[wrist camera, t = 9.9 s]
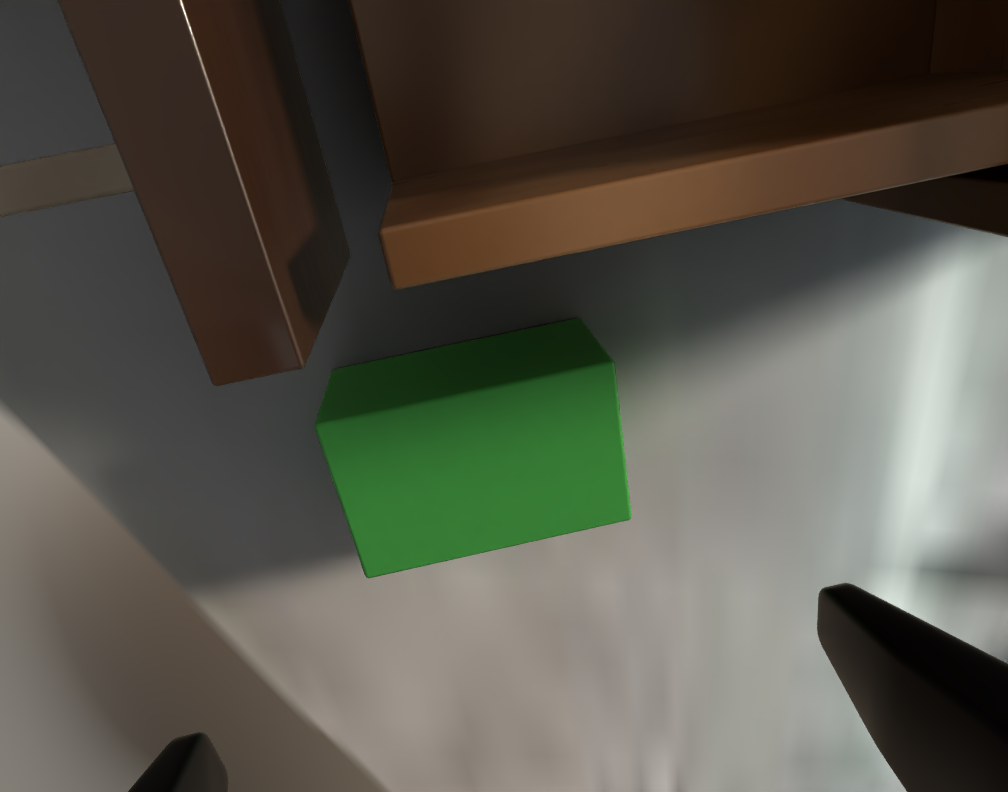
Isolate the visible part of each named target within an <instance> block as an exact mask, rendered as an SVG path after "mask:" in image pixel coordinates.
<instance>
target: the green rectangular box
mask: <svg viewBox="0 0 1008 792" xmlns="http://www.w3.org/2000/svg"><path fill="white" fill-rule="evenodd" d="M315 430H316V433H317V436H318V439H319V442H320V445H321V448H322V451H323V454H324V457H325V460H326V462H327V465H328V468H329V471H330V474H331V477H332V480H333V483H334V486H335V489H336V492H337V495H338V498H339V501H340V503H341V506H342V509H343V512H344V515H345V518H346V521H347V524H348V527H349V530H350V533H351V536H352V539H353V542H354V544H355V547H356V550H357V553H358V556H359V559H360V562H361V565H362V568H363V571H364V574H365V576H366V577H367V578H372V577H376V576H381V575H385V574H390V573H394V572H399V571H403V570H408V569H412V568H417V567H421V566H425V565H430V564H434V563H439V562H443V561H448V560H452V559H457V558H461V557H466V556H470V555H474V554H479V553H483V552H488V551H492V550H497V549H501V548H506V547H510V546H515V545H519V544H524V543H528V542H532V541H537V540H541V539H546V538H550V537H555V536H559V535H564V534H568V533H573V532H577V531H581V530H586V529H590V528H595V527H599V526H604V525H608V524H613V523H617V522H622V521H626V520H629V519H631V507H630V498H629V489H628V480H627V471H626V462H625V453H624V444H623V435H622V426H621V417H620V408H619V399H618V390H617V381H616V372H615V363H614V362H613V360H612V359H611V358H610V356H609V355H608V354H607V352H606V351H605V350H604V348H603V347H602V346H601V345H600V343H599V342H598V341H597V339H596V338H595V337H594V336H593V334H592V333H591V332H590V330H589V329H588V328H587V326H586V325H585V324H584V323H583V321H582V320H581V319H580V318H576V319H571V320H566V321H562V322H557V323H552V324H547V325H543V326H538V327H533V328H528V329H524V330H519V331H514V332H509V333H505V334H500V335H495V336H490V337H486V338H481V339H476V340H471V341H467V342H462V343H457V344H452V345H448V346H443V347H438V348H433V349H429V350H424V351H419V352H414V353H410V354H405V355H400V356H395V357H391V358H386V359H381V360H376V361H372V362H367V363H362V364H357V365H353V366H348V367H343V368H338V369H334V370H332V371H331V374H330V377H329V381H328V384H327V387H326V390H325V393H324V397H323V400H322V403H321V406H320V410H319V413H318V416H317V419H316V423H315Z"/></svg>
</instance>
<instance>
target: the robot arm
mask: <svg viewBox="0 0 1008 792" xmlns="http://www.w3.org/2000/svg"><path fill="white" fill-rule="evenodd" d="M817 632H818V637H819V640H820V642H821V645H822V647H823V649H824V651H825V653H826V654H827V656H828V658H829V660H830V662H831V664H832V665H833V667H834V669H835V671H836V673H837V675H838V676H839V678H840V680H841V682H842V684H843V686H844V687H845V689H846V691H847V693H848V695H849V697H850V698H851V700H852V702H853V704H854V706H855V708H856V710H857V711H858V713H859V715H860V717H861V719H862V721H863V722H864V724H865V726H866V728H867V730H868V731H869V733H870V735H871V737H872V738H873V740H874V742H875V744H876V745H877V747H878V749H879V750H880V752H881V753H882V755H883V756H884V758H885V759H886V761H887V763H888V764H889V766H890V767H891V769H892V770H893V771H894V773H895V774H896V776H897V777H898V779H899V780H900V782H901V783H902V785H903V786H904V788H905V789H906V791H907V792H1008V664H1007V663H1005V662H1003V661H1001V660H999V659H997V658H995V657H993V656H991V655H989V654H987V653H985V652H983V651H981V650H979V649H978V648H976V647H974V646H972V645H970V644H968V643H966V642H964V641H962V640H960V639H958V638H956V637H954V636H952V635H950V634H948V633H946V632H944V631H943V630H941V629H939V628H937V627H935V626H933V625H931V624H929V623H927V622H925V621H923V620H921V619H919V618H917V617H915V616H913V615H911V614H909V613H907V612H906V611H904V610H902V609H900V608H898V607H896V606H894V605H892V604H890V603H888V602H886V601H884V600H882V599H880V598H878V597H876V596H874V595H872V594H871V593H869V592H867V591H865V590H863V589H861V588H859V587H857V586H855V585H853V584H849V583H842V584H838V585H833V586H829V587H825V588H823V589H821V591H820V593H819V597H818V620H817ZM227 791H228V775H227V770H226V768H225V765H224V764H223V762H222V760H221V758H220V756H219V755H218V753H217V751H216V749H215V747H214V746H213V744H212V742H211V740H210V738H209V737H208V735H206V734H205V733H203V732H198V733H194V734H190V735H186V736H182V737H178V738H175V739H174V740H172V741H171V742H170V743H169V744H168V745H167V746H166V747H165V749H164V750H163V751H162V752H161V753H160V754H159V756H158V757H157V758H156V759H155V760H154V762H153V763H152V764H151V765H150V766H149V767H148V769H147V770H146V771H145V772H144V773H143V775H142V776H141V777H140V778H139V779H138V781H137V782H136V783H135V784H134V785H133V786H132V788H131V789H130V790H129V791H128V792H227Z"/></svg>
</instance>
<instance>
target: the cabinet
mask: <svg viewBox="0 0 1008 792" xmlns="http://www.w3.org/2000/svg"><path fill="white" fill-rule="evenodd" d="M840 199H841V200H846V201H850V202H854V203H859V204H863V205H868V206H872V207H877V208H881V209H886V210H890V211H894V212H899V213H903V214H908V215H912V216H917V217H921V218H926V219H930V220H934V221H939V222H943V223H948V224H952V225H957V226H961V227H966V228H970V229H974V230H979V231H983V232H988V233H992V234H997V235H1001V236H1005V237H1008V164H1005V165H1000V166H995V167H990V168H985V169H981V170H976V171H971V172H966V173H961V174H956V175H952V176H947V177H942V178H937V179H932V180H927V181H923V182H918V183H913V184H908V185H903V186H898V187H893V188H889V189H884V190H879V191H874V192H869V193H864V194H860V195H855V196H850V197H845V198H840Z"/></svg>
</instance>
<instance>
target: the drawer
mask: <svg viewBox="0 0 1008 792" xmlns="http://www.w3.org/2000/svg"><path fill="white" fill-rule="evenodd" d="M57 1H58V3H59V5H60V8H61V10H62V13H63V15H64V18H65V20H66V23H67V25H68V28H69V30H70V33H71V35H72V38H73V40H74V43H75V45H76V48H77V50H78V52H79V55H80V57H81V60H82V62H83V65H84V67H85V70H86V72H87V75H88V77H89V80H90V82H91V85H92V87H93V90H94V92H95V94H96V97H97V99H98V102H99V104H100V107H101V109H102V112H103V114H104V117H105V119H106V122H107V124H108V127H109V129H110V132H111V134H112V136H113V139H114V141H115V144H110V145H105V146H100V147H95V148H89V149H84V150H79V151H74V152H69V153H64V154H59V155H53V156H48V157H43V158H38V159H33V160H28V161H22V162H17V163H12V164H7V165H2V166H0V217H3V216H8V215H13V214H18V213H24V212H29V211H34V210H39V209H44V208H49V207H54V206H59V205H64V204H69V203H74V202H79V201H84V200H90V199H95V198H100V197H105V196H110V195H115V194H120V193H125V192H130V191H135V193H136V196H137V198H138V201H139V203H140V206H141V208H142V211H143V213H144V216H145V218H146V221H147V223H148V225H149V228H150V230H151V233H152V235H153V238H154V240H155V243H156V245H157V248H158V250H159V253H160V255H161V258H162V260H163V263H164V265H165V267H166V270H167V272H168V275H169V277H170V280H171V282H172V285H173V287H174V290H175V292H176V295H177V297H178V300H179V302H180V305H181V307H182V309H183V312H184V314H185V317H186V319H187V322H188V324H189V327H190V329H191V332H192V334H193V337H194V339H195V342H196V344H197V347H198V349H199V351H200V354H201V356H202V359H203V361H204V364H205V366H206V369H207V371H208V374H209V376H210V379H211V381H212V384H213V385H214V386H221V385H226V384H230V383H235V382H240V381H245V380H249V379H254V378H259V377H264V376H269V375H273V374H278V373H283V372H288V371H292V370H297V369H302V368H303V367H305V364H306V362H307V359H308V357H309V355H310V352H311V350H312V347H313V345H314V343H315V340H316V338H317V335H318V333H319V331H320V328H321V326H322V323H323V321H324V319H325V316H326V314H327V311H328V309H329V307H330V304H331V302H332V299H333V297H334V295H335V292H336V290H337V287H338V285H339V283H340V280H341V278H342V275H343V273H344V271H345V268H346V266H347V263H348V261H349V259H350V255H351V254H350V250H349V247H348V243H347V239H346V236H345V232H344V229H343V225H342V221H341V218H340V214H339V211H338V207H337V203H336V200H335V196H334V193H333V189H332V185H331V182H330V178H329V175H328V171H327V167H326V164H325V160H324V157H323V153H322V149H321V146H320V142H319V139H318V135H317V132H316V128H315V124H314V121H313V117H312V114H311V110H310V106H309V103H308V99H307V96H306V92H305V88H304V85H303V81H302V78H301V74H300V70H299V67H298V63H297V60H296V56H295V52H294V49H293V45H292V42H291V38H290V34H289V31H288V27H287V24H286V20H285V16H284V13H283V9H282V6H281V2H280V0H57ZM348 3H349V7H350V12H351V16H352V20H353V24H354V28H355V32H356V37H357V41H358V45H359V49H360V53H361V57H362V62H363V66H364V70H365V74H366V78H367V82H368V87H369V91H370V95H371V99H372V103H373V107H374V112H375V116H376V120H377V124H378V128H379V133H380V137H381V141H382V145H383V149H384V153H385V158H386V162H387V166H388V170H389V174H390V178H391V183H392V185H391V188H390V192H389V195H388V199H387V203H386V206H385V210H384V213H383V217H382V221H381V224H380V228H379V233H378V236H379V240H380V244H381V248H382V251H383V255H384V259H385V263H386V267H387V271H388V275H389V279H390V283H391V286H392V287H393V288H394V289H397V290H399V289H404V288H409V287H414V286H419V285H423V284H428V283H433V282H438V281H443V280H448V279H453V278H457V277H462V276H467V275H472V274H477V273H482V272H486V271H491V270H496V269H501V268H506V267H511V266H516V265H520V264H525V263H530V262H535V261H540V260H545V259H549V258H554V257H559V256H564V255H569V254H574V253H579V252H583V251H588V250H593V249H598V248H603V247H608V246H612V245H617V244H622V243H627V242H632V241H637V240H642V239H646V238H651V237H656V236H661V235H666V234H671V233H675V232H680V231H685V230H690V229H695V228H700V227H704V226H709V225H714V224H719V223H724V222H729V221H734V220H738V219H743V218H748V217H753V216H758V215H763V214H767V213H772V212H777V211H782V210H787V209H792V208H797V207H801V206H806V205H811V204H816V203H821V202H826V201H830V200H835V199H840V198H845V197H850V196H855V195H860V194H864V193H869V192H874V191H879V190H884V189H889V188H893V187H898V186H903V185H908V184H913V183H918V182H923V181H927V180H932V179H937V178H942V177H947V176H952V175H956V174H961V173H966V172H971V171H976V170H981V169H985V168H990V167H995V166H1000V165H1005V164H1008V0H348Z"/></svg>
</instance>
